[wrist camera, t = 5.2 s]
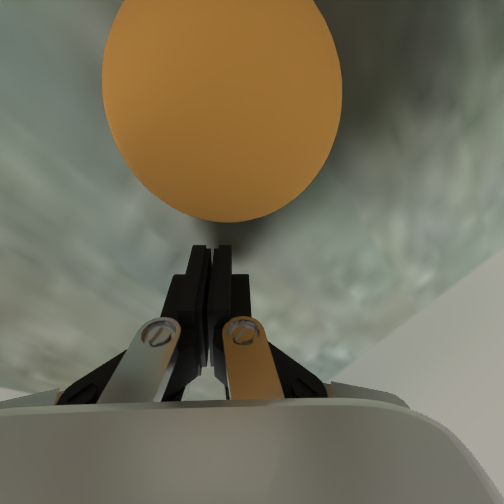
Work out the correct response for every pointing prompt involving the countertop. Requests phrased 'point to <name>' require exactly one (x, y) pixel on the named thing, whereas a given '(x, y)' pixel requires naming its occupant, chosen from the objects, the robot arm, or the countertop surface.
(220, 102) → the ball
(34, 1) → the countertop surface
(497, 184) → the countertop surface
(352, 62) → the countertop surface
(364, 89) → the countertop surface
